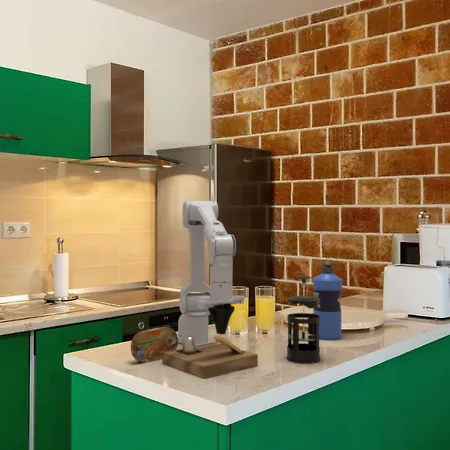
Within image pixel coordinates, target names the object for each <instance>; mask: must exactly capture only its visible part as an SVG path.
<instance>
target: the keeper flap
mask: <svg viewBox="0 0 450 450" xmlns="http://www.w3.org/2000/svg"><path fill="white" fill-rule="evenodd" d="M212 339H213V340H215V341H216V342H217V343H219V344H222V345H224V346H225V347H226V348H228V349H229V350H231V351H233V352H237V353H240V354H243V353H244V351H245V350H243V349H241V348H239V347H237V346H236V345H235V344H233V343H232V342H230V341H229V340H228V339H226V338H225V337H223V336H217V335H213V337H212Z"/></svg>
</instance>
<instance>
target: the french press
mask: <svg viewBox="0 0 450 450" xmlns="http://www.w3.org/2000/svg"><path fill="white" fill-rule="evenodd" d="M296 279H301V280H302V281H301V283H302V284H303V285H302V286H303V291H302V294H303V295H296V296H295V295H294V296H287V300H288V305H289V307H291V305H301V304H302V312H297V313H295V312H294V313H289V314H287V315H286V316H287V317H286V318H287V319H286V320H287V346H286V357H285V359H286V360H287V361H288V362H291V363H295V364H304V365H305V364H315V363H316V364H317V363H319V362H320V361H321V357H320V354H321V353H320V352H321V349H320V348H321V347H320V340H319V322H320V316H319V315H317V314H313V312H312V313H309V312H308V313H307V312H305V307H306V308H307V309H314V308H317V307H319V301H320V298H317V297H314V296H310V295H305V294H306V293H305V292H306V291H305V289H306V287H305V286H306V285H305V284H306V283H307V280H309V279H313V278H312V276H309V275H299V276H296ZM300 325H302V332H299V331H300ZM305 325H307V332H305ZM299 342H301V343H299ZM303 342H307V343H303Z"/></svg>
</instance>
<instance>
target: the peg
mask: <svg viewBox="0 0 450 450" xmlns="http://www.w3.org/2000/svg"><path fill="white" fill-rule="evenodd" d="M182 346H183V347H182V348H183V354H185V355H190V354H195V353H197V337H196V336H192V335H188V336H184V337H183V344H182Z"/></svg>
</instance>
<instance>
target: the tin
mask: <svg viewBox="0 0 450 450" xmlns="http://www.w3.org/2000/svg"><path fill="white" fill-rule="evenodd" d="M130 342H131V343H130V352H131V356H132V358H134V359H135V360H136V361H138V362H142V363H145V364H146V363H151V362H154V361H159V360H162V352H166V351H171V350H176V349H178V345H179V342H178V333H177V332H176V331H175V329H173V328H172V327H169V326H167V327H165V326H162V327H155V328H151V329H146V330H142V331H138V332H137V333H136V334H135V335H134V336H133V337H132V340H131V341H130Z"/></svg>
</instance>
